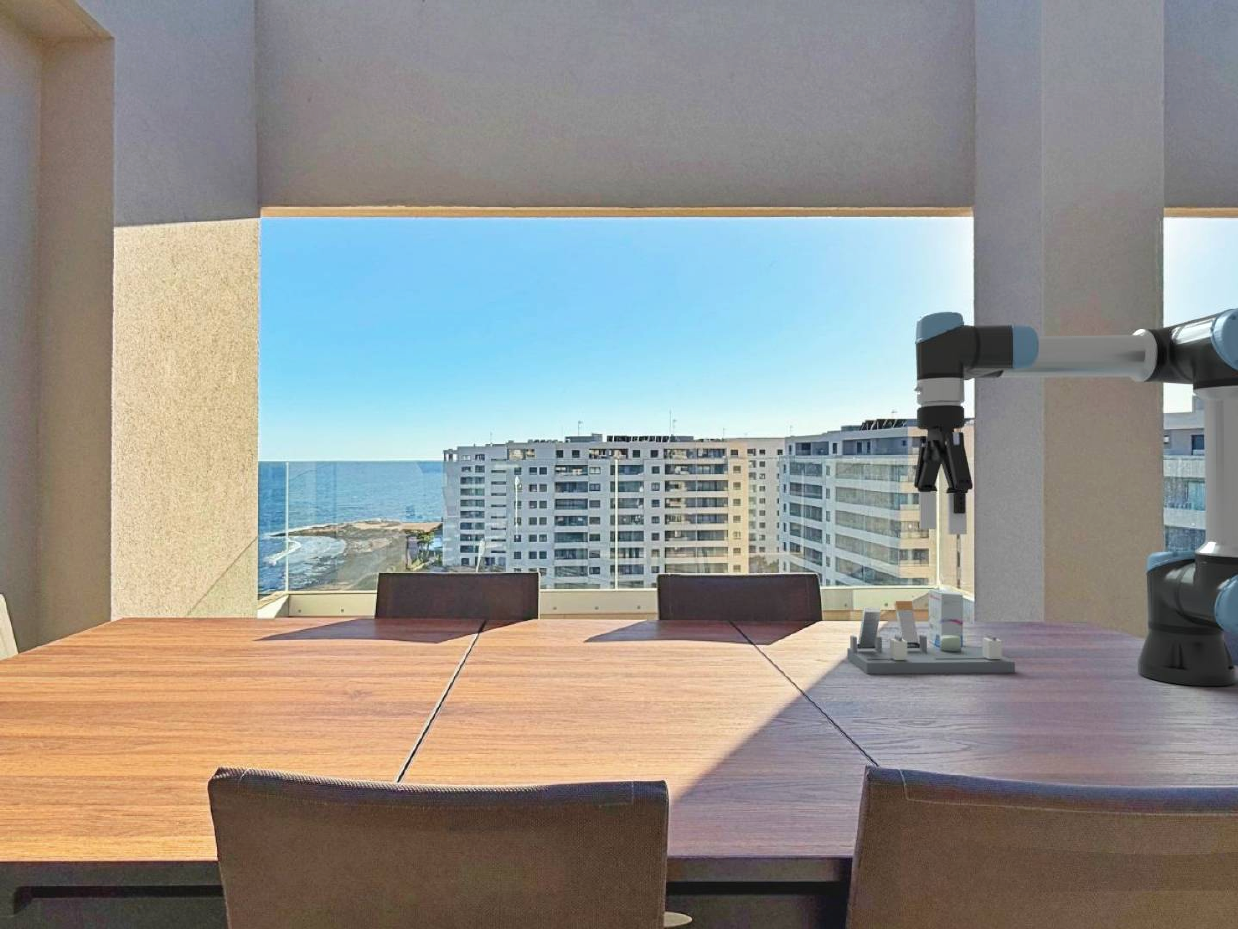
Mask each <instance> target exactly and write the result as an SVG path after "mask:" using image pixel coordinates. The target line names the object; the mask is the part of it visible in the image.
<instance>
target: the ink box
mask: <svg viewBox="0 0 1238 929" xmlns="http://www.w3.org/2000/svg"><path fill="white" fill-rule="evenodd" d="M963 611H964V595H963V594H962V593H958V592H956V591H953V590H950V589H937V588H935V589H932V588H931V589H929V590H928V642H930V643H931V644H933V645H935V646H937V648H940V636H942V635H953V636H959V637H961V647H963V645H964V642H963V641H964V638H963V636H964V634H963V633H964V632H963V630H964V628H963V627H964V625H963V624H964V622H963V621H964V619H963V618H964V612H963Z"/></svg>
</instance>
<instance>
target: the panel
mask: <svg viewBox="0 0 1238 929" xmlns="http://www.w3.org/2000/svg"><path fill="white" fill-rule="evenodd" d="M895 636H899V637H901V636H900V634H894V637H895ZM901 638H902V637H901ZM849 639H850V640H849V641H850V642H849V643H850V646H849V647H850V648H847V649H846V650H847V651H846V652H847V653H846V655H847V656H846V657H847V659H848V660H849V661H850V662H852V663H853V664H854V665H855V666H857V668H859V669H861V671H863V672H864V673H865V674H867V675H868V674H870V675H872V674H873V675H875V674H876V675H877V674H879V675H881V674H884V675H885V674H887V675H888V674H891V675H893V674H894V675H895V674H968V673H969V674H976V673H977V674H984V673H986V674H987V673H988V674H991V673H993V674H994V673H995V674H997V673H1016V662H1015V660H1012V659H1009V658H1008V657H1006V656H1003V655H1002V659H988V658H986V657H984V656H983V646H981V647H980V646H977V647H976V646H975V647H974V646H973V647H972V646H966V647H961V651H944V650H941V649H940V647H928V642H927V641H928V637H927V636H926V635H925V634H919V636H918V643H919V644H920V648H907V660H894V659H892V658H891V657H890V647H883V636H881V635H878V634H877V636H876V641H875V649H857V644H858V637H857V636H855V635H853V634H852V635H850V637H849Z"/></svg>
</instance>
